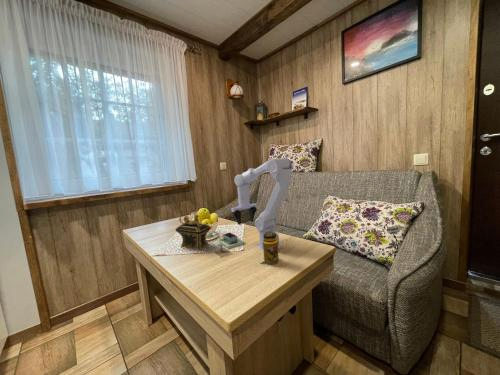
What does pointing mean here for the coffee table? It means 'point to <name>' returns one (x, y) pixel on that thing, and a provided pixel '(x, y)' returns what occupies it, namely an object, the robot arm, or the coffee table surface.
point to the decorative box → (193, 233)
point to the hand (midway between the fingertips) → (245, 222)
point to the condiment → (270, 250)
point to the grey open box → (230, 238)
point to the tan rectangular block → (222, 251)
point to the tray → (232, 244)
